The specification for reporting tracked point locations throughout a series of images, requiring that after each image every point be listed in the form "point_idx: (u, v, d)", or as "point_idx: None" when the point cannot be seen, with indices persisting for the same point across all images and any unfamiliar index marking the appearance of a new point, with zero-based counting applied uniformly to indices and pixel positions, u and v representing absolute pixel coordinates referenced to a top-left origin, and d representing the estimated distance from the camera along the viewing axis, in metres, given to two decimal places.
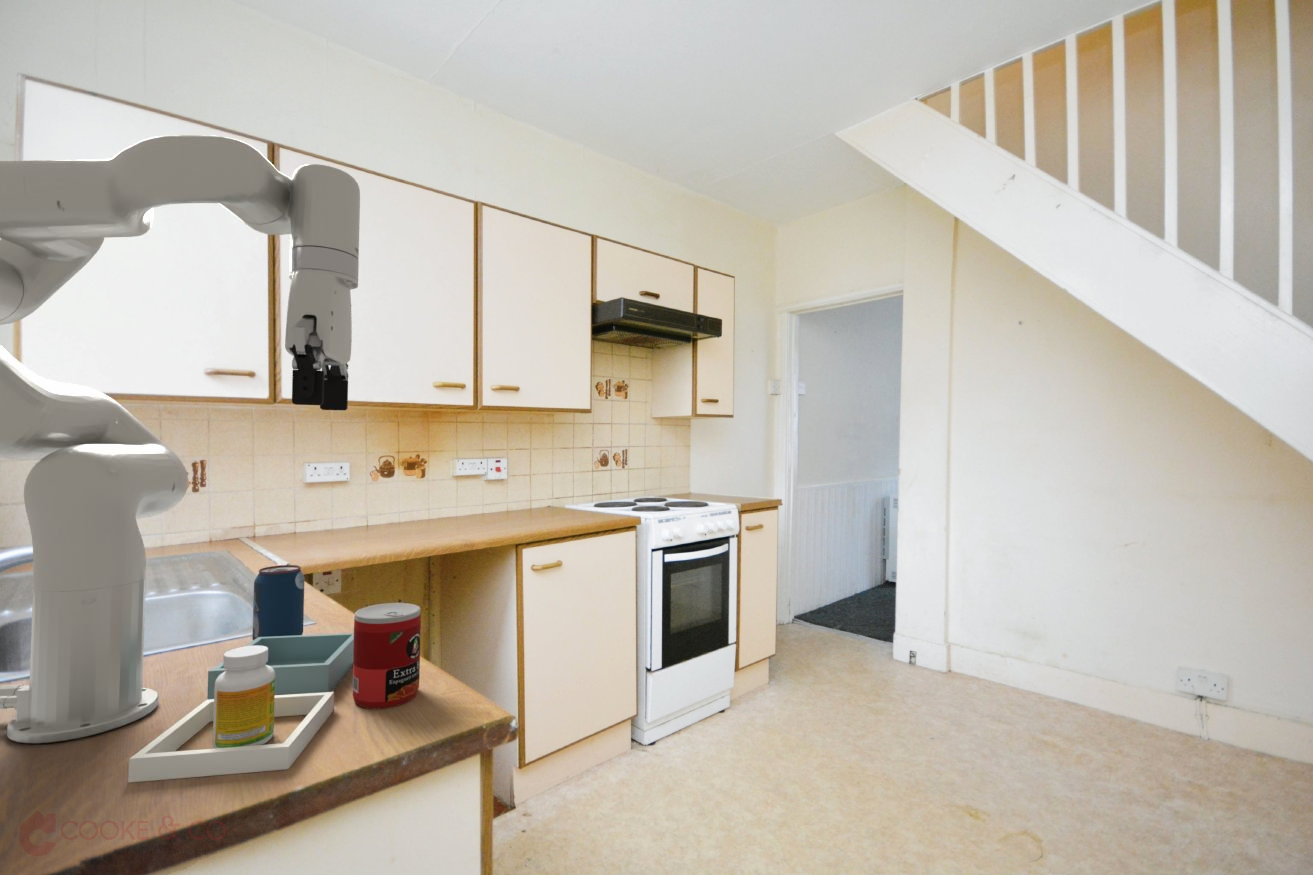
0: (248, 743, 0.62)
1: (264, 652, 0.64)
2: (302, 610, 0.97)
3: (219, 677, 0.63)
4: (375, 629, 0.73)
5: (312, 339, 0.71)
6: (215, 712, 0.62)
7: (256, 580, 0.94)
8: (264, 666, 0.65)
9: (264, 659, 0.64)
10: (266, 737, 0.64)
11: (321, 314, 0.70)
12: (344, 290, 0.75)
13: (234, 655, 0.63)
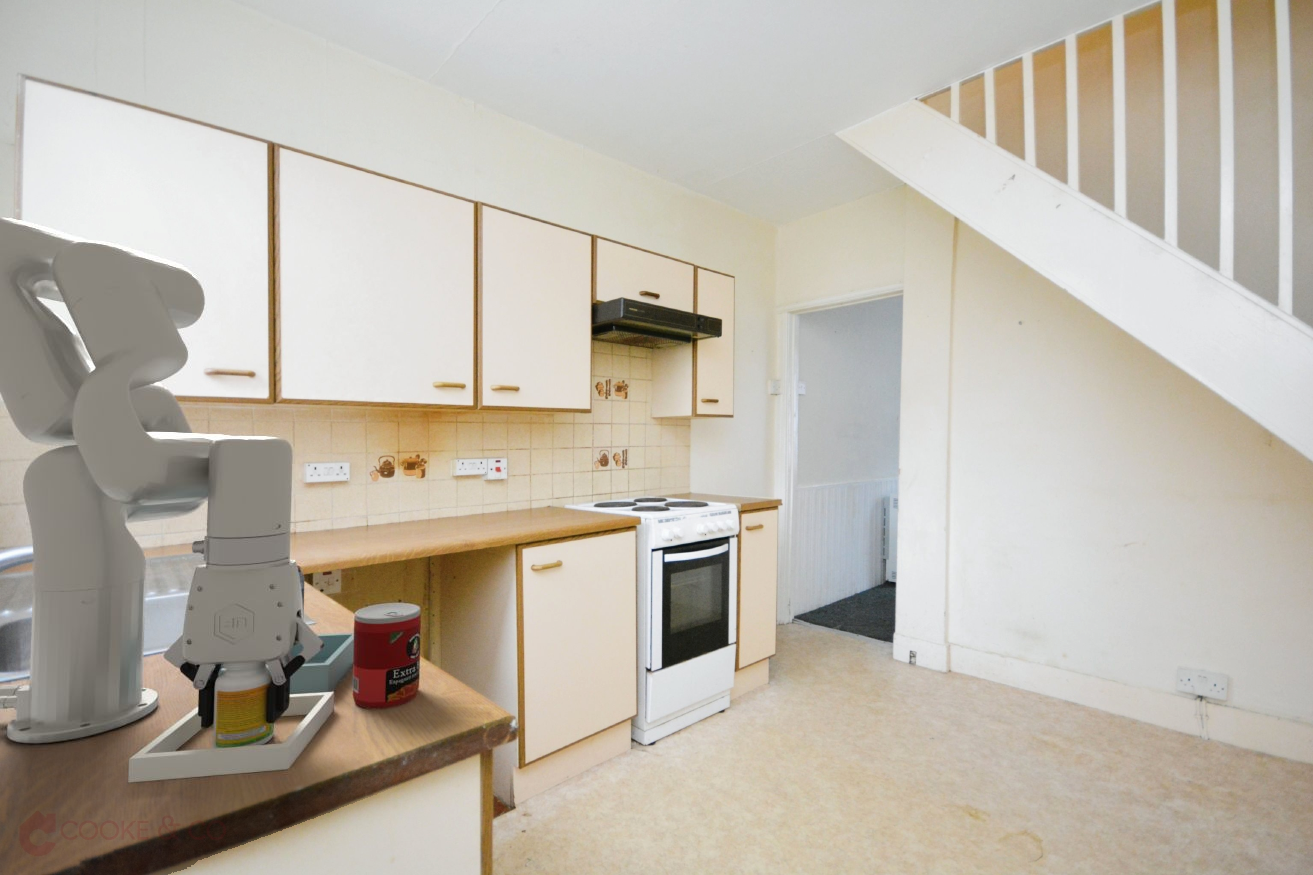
0: (248, 743, 0.62)
1: None
2: None
3: (219, 677, 0.63)
4: (375, 629, 0.73)
5: None
6: (215, 712, 0.62)
7: None
8: (264, 666, 0.65)
9: None
10: (266, 737, 0.64)
11: (302, 606, 0.67)
12: None
13: None
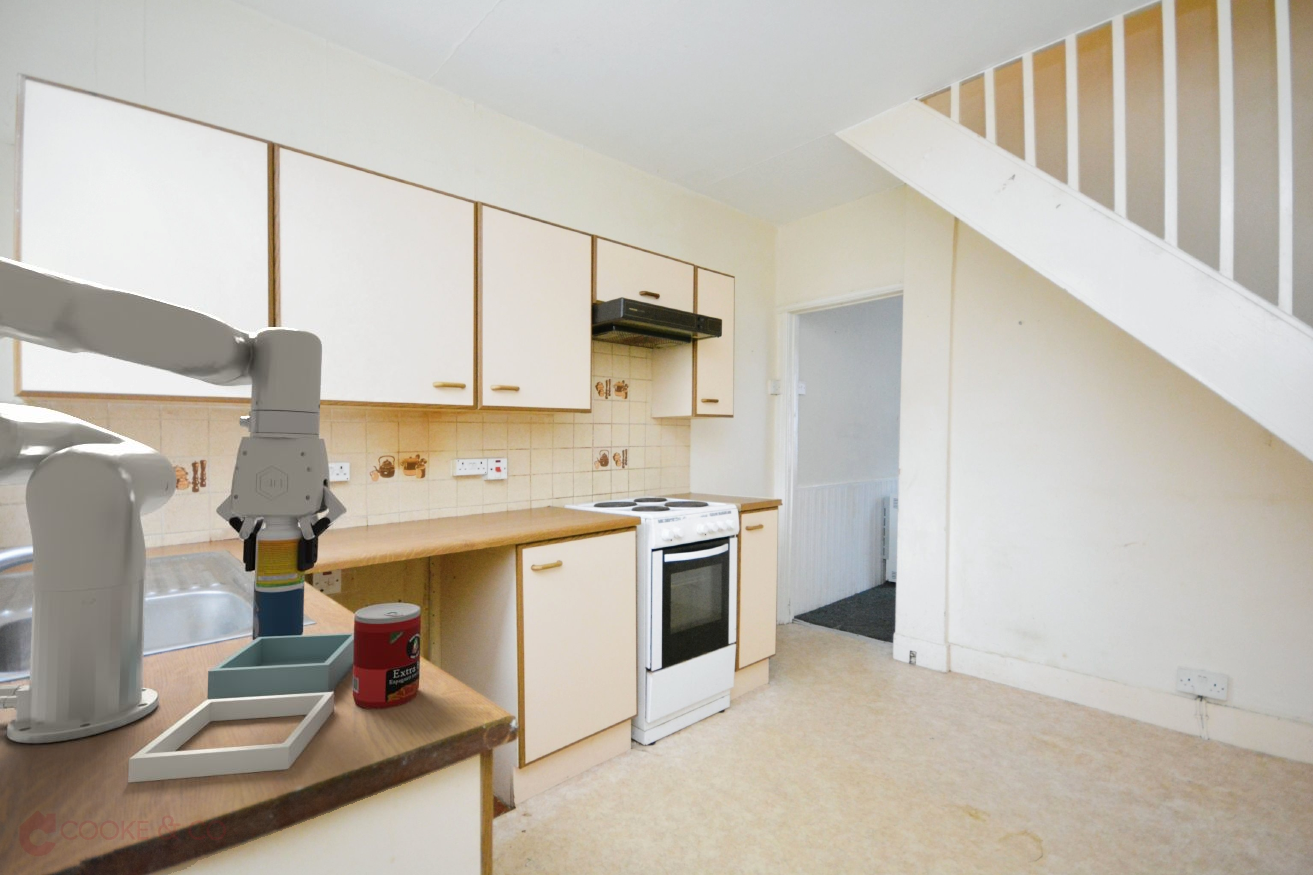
0: (282, 585, 0.74)
1: None
2: (302, 610, 0.97)
3: (260, 530, 0.75)
4: (375, 629, 0.73)
5: None
6: (256, 558, 0.74)
7: None
8: (297, 525, 0.76)
9: (297, 519, 0.76)
10: (297, 584, 0.75)
11: (328, 478, 0.78)
12: None
13: None
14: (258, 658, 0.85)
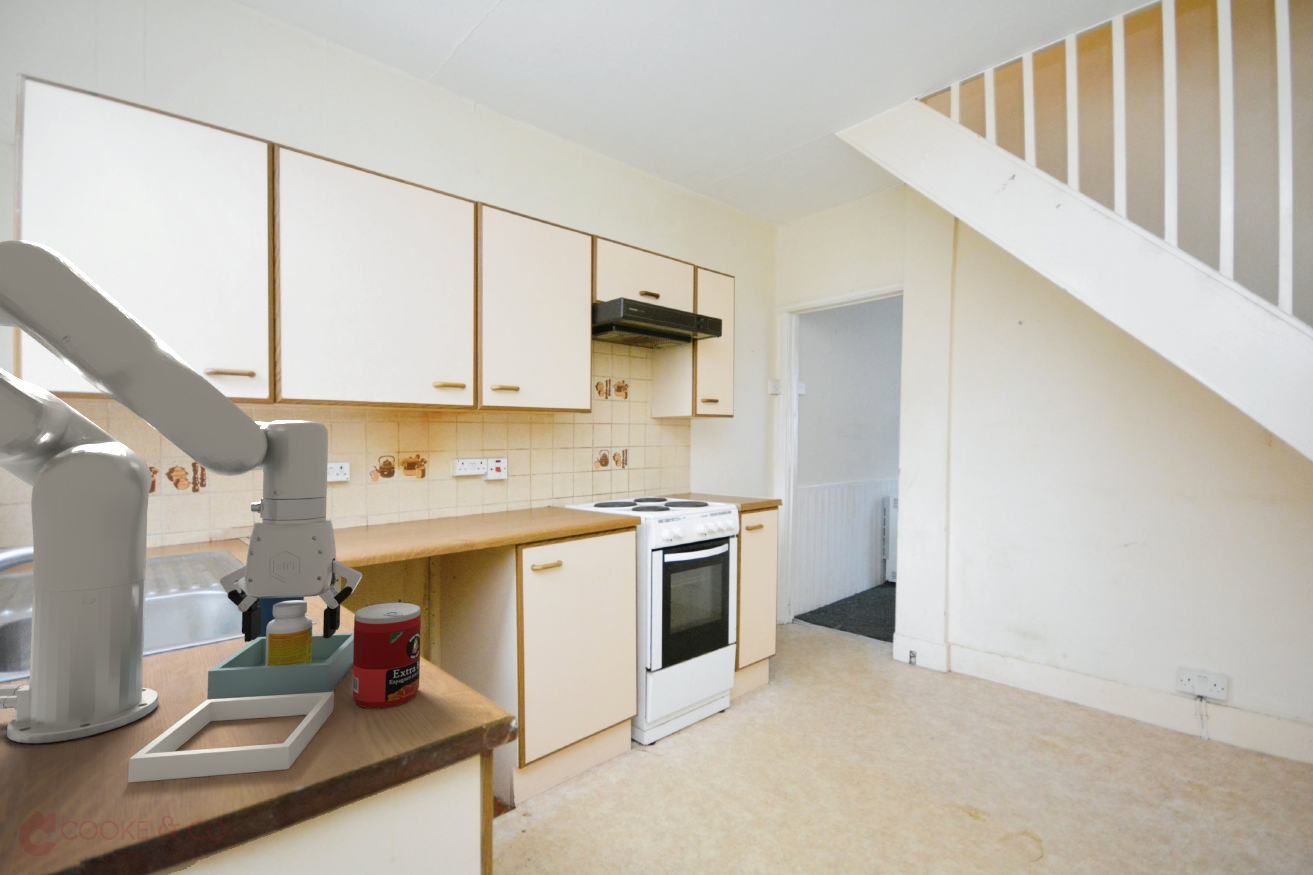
0: None
1: (304, 604, 0.82)
2: None
3: (270, 623, 0.80)
4: (375, 629, 0.73)
5: None
6: (267, 650, 0.79)
7: None
8: (304, 616, 0.82)
9: (304, 610, 0.82)
10: None
11: (335, 556, 0.84)
12: None
13: (281, 606, 0.80)
14: (258, 658, 0.85)
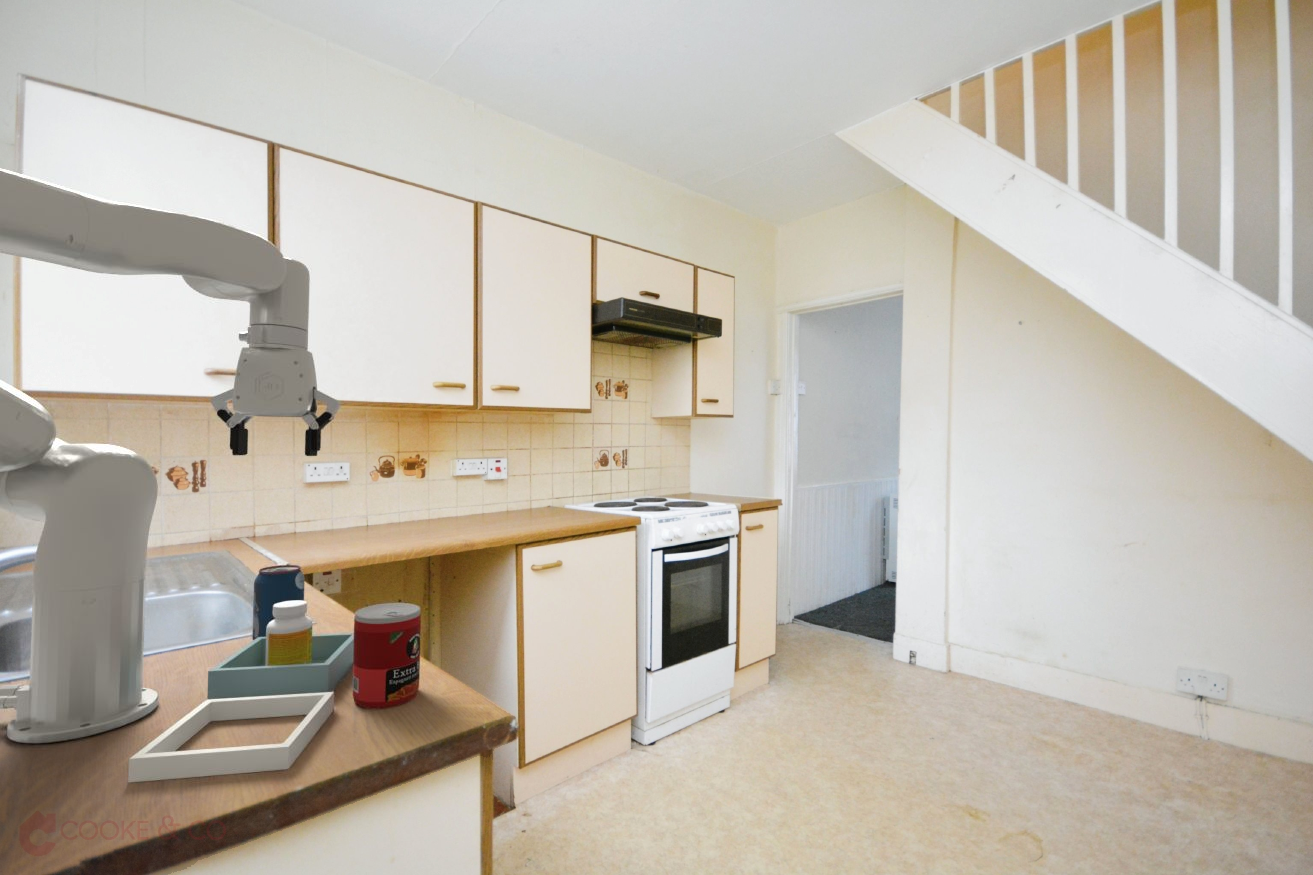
0: None
1: (304, 604, 0.82)
2: None
3: (270, 623, 0.80)
4: (375, 629, 0.73)
5: None
6: (267, 650, 0.79)
7: (256, 580, 0.94)
8: (304, 616, 0.82)
9: (304, 610, 0.82)
10: None
11: (316, 386, 0.92)
12: None
13: (281, 606, 0.80)
14: (258, 658, 0.85)
